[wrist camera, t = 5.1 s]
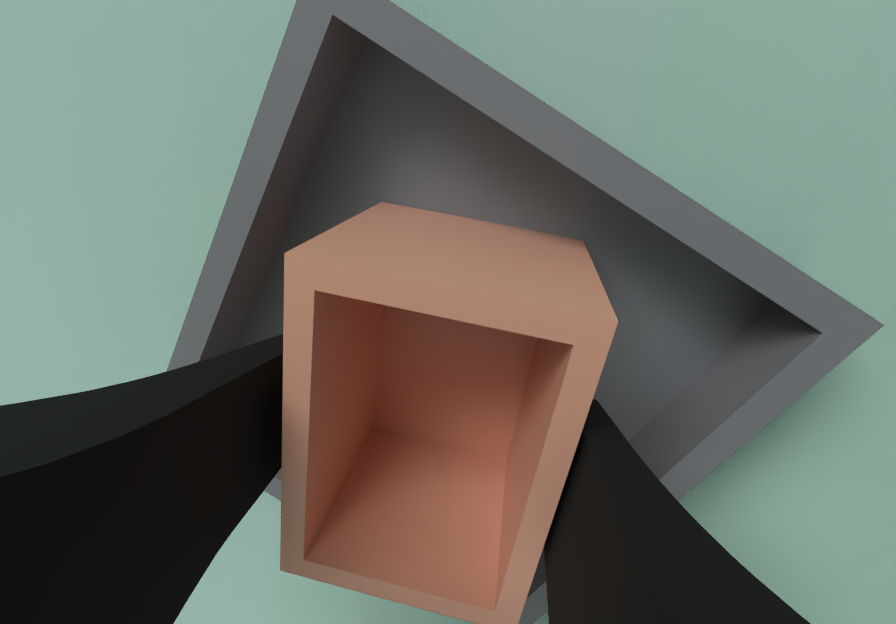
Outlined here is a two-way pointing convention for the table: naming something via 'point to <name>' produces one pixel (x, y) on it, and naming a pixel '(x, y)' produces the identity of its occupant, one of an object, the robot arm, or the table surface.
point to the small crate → (433, 404)
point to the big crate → (524, 206)
